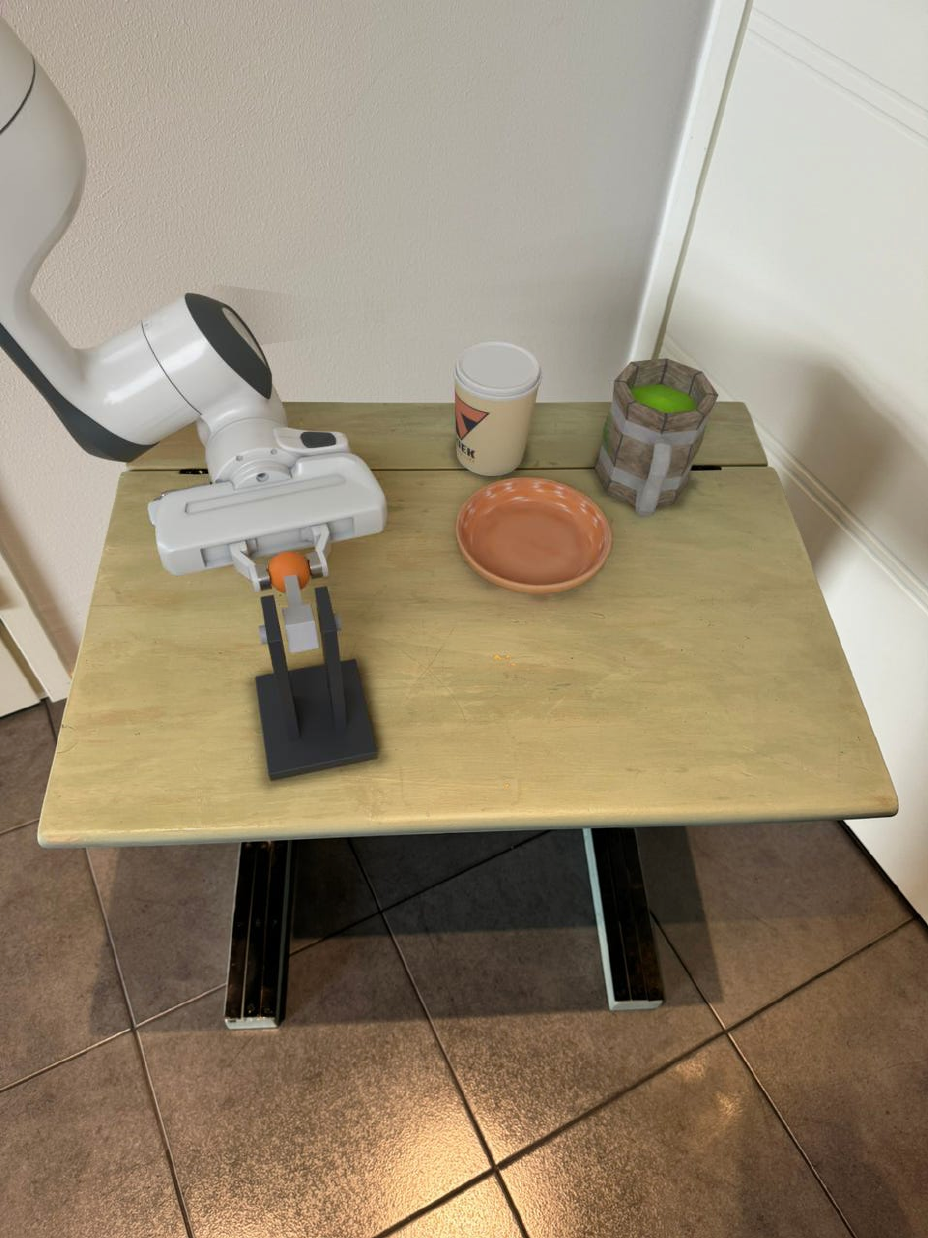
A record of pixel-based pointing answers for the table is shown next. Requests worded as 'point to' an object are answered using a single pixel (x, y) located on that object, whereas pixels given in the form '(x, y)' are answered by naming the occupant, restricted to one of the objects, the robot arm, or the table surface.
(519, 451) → the coffee cup
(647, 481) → the mug
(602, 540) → the saucer
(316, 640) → the lever
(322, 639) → the switch base
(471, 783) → the table surface
